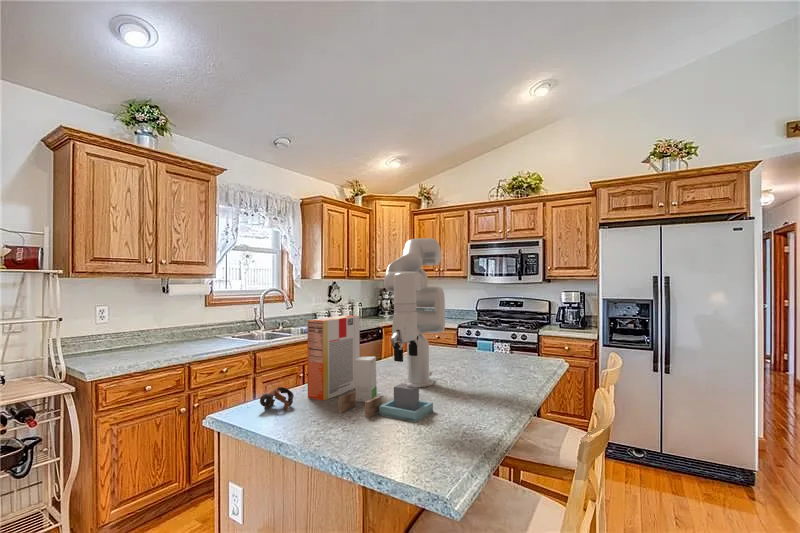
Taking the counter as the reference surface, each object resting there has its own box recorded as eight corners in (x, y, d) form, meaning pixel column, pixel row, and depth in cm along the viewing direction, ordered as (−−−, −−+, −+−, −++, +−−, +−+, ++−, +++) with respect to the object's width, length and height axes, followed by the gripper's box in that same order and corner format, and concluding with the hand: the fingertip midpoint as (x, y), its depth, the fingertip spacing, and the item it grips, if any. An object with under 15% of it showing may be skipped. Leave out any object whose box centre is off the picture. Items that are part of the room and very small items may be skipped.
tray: (398, 405, 146) (398, 397, 146) (433, 411, 138) (432, 402, 138) (379, 415, 135) (379, 406, 135) (416, 422, 128) (415, 412, 128)
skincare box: (371, 402, 149) (371, 360, 150) (354, 401, 151) (354, 359, 151) (377, 396, 158) (376, 356, 158) (360, 395, 159) (360, 355, 160)
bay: (353, 405, 146) (353, 391, 146) (381, 410, 140) (381, 396, 140) (338, 411, 139) (338, 397, 139) (368, 417, 133) (367, 402, 133)
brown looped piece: (277, 403, 151) (288, 384, 151) (289, 420, 145) (301, 400, 145) (250, 403, 142) (261, 383, 141) (262, 420, 136) (274, 400, 136)
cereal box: (345, 384, 177) (344, 315, 178) (359, 386, 172) (359, 316, 174) (307, 397, 157) (307, 320, 158) (323, 400, 153) (323, 320, 154)
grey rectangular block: (401, 406, 141) (401, 380, 141) (419, 409, 137) (418, 383, 138) (393, 410, 137) (393, 383, 137) (411, 413, 133) (411, 386, 133)
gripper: (408, 305, 148) (409, 352, 147) (382, 310, 133) (382, 362, 133) (426, 306, 144) (427, 354, 144) (401, 311, 129) (402, 365, 129)
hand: (406, 358), depth 138 cm, fingers open, 9 cm apart
